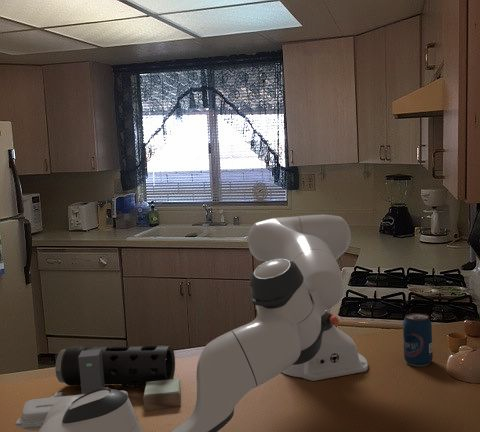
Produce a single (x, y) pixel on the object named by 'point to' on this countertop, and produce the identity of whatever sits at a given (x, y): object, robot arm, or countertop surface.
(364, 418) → the countertop surface
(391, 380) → the countertop surface
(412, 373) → the countertop surface
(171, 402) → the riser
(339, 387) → the countertop surface
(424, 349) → the soda can
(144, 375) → the muzzle brake
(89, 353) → the charger
